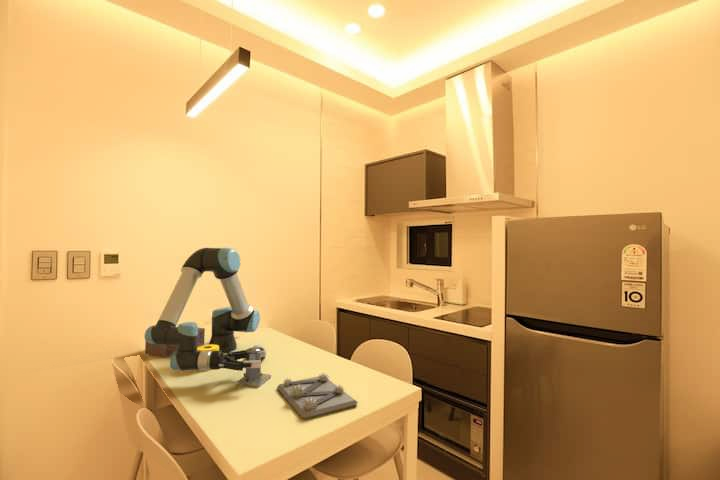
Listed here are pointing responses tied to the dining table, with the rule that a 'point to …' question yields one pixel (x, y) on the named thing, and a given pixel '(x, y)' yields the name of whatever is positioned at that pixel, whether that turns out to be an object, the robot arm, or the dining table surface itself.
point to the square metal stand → (254, 381)
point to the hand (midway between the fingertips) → (262, 358)
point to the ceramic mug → (261, 350)
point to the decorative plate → (315, 396)
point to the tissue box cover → (170, 346)
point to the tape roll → (208, 349)
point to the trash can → (253, 355)
